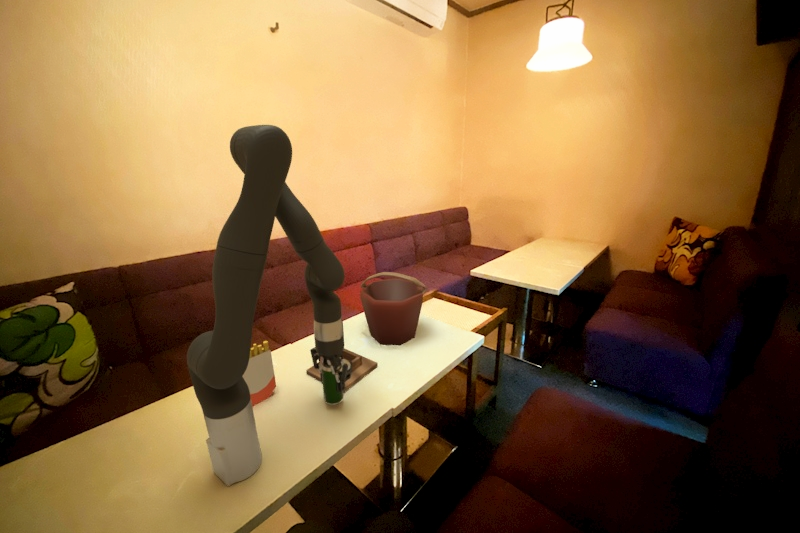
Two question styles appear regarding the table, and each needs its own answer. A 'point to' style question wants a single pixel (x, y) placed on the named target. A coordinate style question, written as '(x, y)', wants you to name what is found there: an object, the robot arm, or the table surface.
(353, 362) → the can holder
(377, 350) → the table surface
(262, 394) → the french fries container
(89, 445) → the table surface
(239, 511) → the table surface
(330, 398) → the beer can
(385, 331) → the bucket
